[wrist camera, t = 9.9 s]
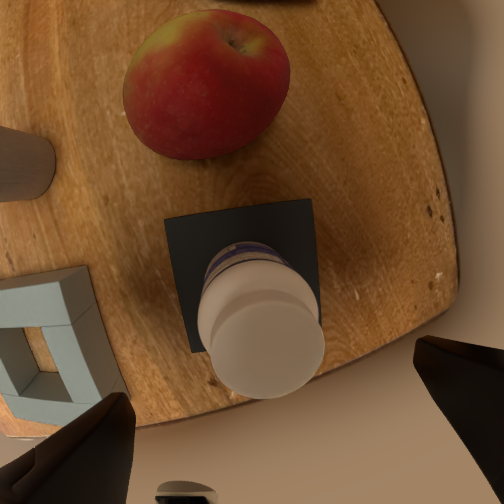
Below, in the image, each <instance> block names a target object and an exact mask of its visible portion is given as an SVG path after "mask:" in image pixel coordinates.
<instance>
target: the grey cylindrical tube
mask: <svg viewBox="0 0 504 504" xmlns="http://www.w3.org/2000/svg"><path fill="white" fill-rule="evenodd" d="M54 171H55V153H54V150H53V147H52V145H51V144H50V142H49V141H48V140H46V139H45V138H42V137H40V136H37V135H33V134H29V133H26V132H22V131H18V130H14V129H10V128H6V127H2V126H0V202H10V201H21V200H30V199H35V198H37V197H39V196H40V195H42V194H43V193H44V192H45V191H46V190H47V188H48V187H49V185H50V183H51V181H52V178H53V175H54Z"/></svg>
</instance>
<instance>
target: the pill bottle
mask: <svg viewBox="0 0 504 504" xmlns="http://www.w3.org/2000/svg"><path fill="white" fill-rule="evenodd" d="M198 330H199V335H200V338H201V341H202V343H203V345H204V347H205V349H206V350H207V352H208V353H209V354H210V356H211V363H212V366H213V369H214V371H215V374H216V375H217V377H218V378H219V379H220V381H221V382H222V383H223V384H224V385H225V386H226V387H227V388H229V389H230V390H232V391H233V392H235V393H237V394H239V395H242V396H245V397H248V398H254V399H271V398H277V397H281V396H284V395H287V394H289V393H292V392H294V391H295V390H297V389H299V388H300V387H302V386H303V385H304V384H306V383H307V382H308V381H309V380H310V379H311V378H312V377H313V376H314V374H315V373H316V371H317V370H318V368H319V366H320V364H321V362H322V359H323V356H324V351H325V340H324V335H323V331H322V329H321V326H320V325H319V323H318V306H317V302H316V298H315V296H314V294H313V292H312V290H311V288H310V287H309V285H308V284H307V283H306V281H305V280H304V279H303V278H302V277H301V276H300V275H299V274H298V273H297V272H296V271H295V270H294V269H293V268H292V267H291V266H290V265H289V264H288V263H287V262H286V261H285V260H284V259H283V258H282V257H281V256H280V255H279V254H278V253H277V252H276V251H274V250H273V249H272V248H270V247H268V246H266V245H264V244H260V243H256V242H240V243H236V244H233V245H230V246H228V247H226V248H224V249H223V250H222V251H220V252H219V253H218V254H217V255H216V256H215V257H214V258H213V260H212V261H211V262H210V264H209V266H208V268H207V271H206V274H205V278H204V285H203V290H202V295H201V299H200V303H199V311H198Z"/></svg>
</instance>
